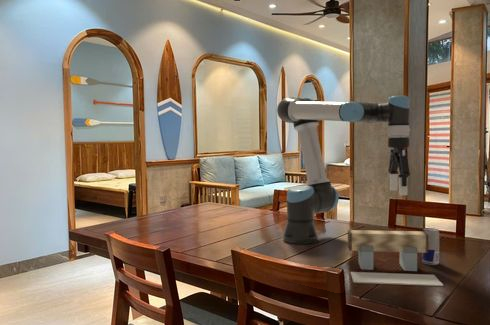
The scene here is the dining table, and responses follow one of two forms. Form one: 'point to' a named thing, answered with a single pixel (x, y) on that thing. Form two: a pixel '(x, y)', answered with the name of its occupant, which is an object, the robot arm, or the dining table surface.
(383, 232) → the rail
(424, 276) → the mat
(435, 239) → the energy drink
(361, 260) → the post left
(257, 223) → the dining table surface
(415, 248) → the post right
